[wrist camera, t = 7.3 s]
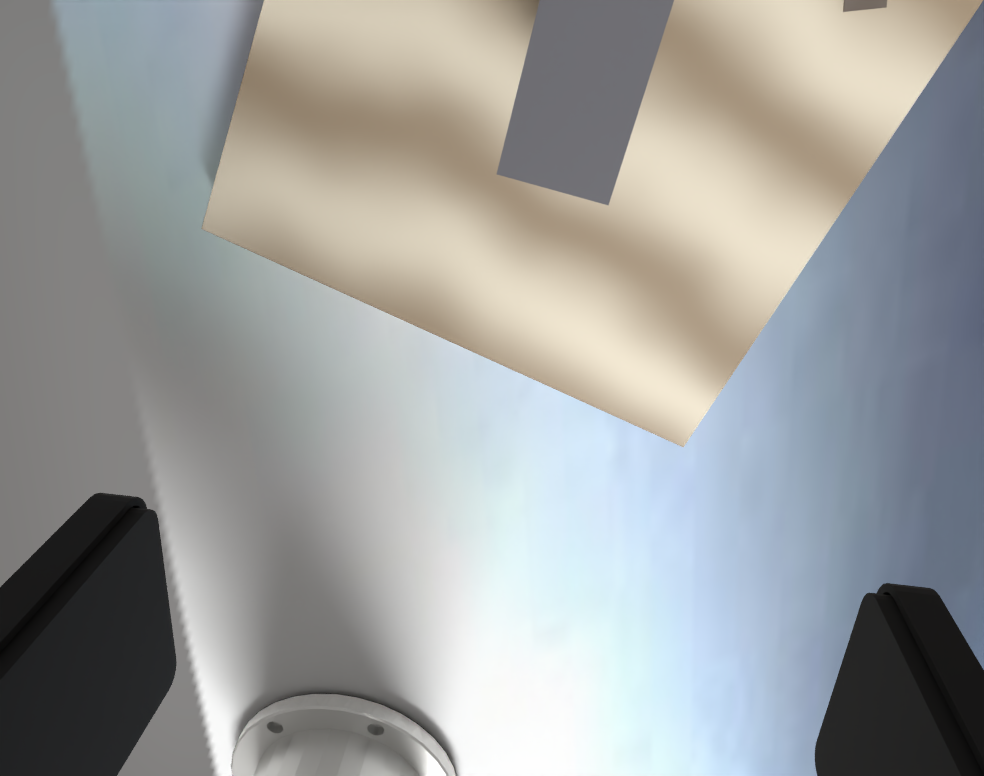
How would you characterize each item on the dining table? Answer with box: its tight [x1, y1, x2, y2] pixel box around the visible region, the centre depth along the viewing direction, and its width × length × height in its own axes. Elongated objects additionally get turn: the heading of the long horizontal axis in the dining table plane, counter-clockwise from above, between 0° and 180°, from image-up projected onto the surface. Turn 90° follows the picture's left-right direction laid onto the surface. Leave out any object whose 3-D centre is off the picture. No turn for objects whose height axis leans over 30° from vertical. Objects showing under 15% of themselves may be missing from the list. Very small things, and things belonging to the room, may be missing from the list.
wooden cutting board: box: [202, 0, 983, 447], centre depth 27 cm, size 24×20×2 cm
